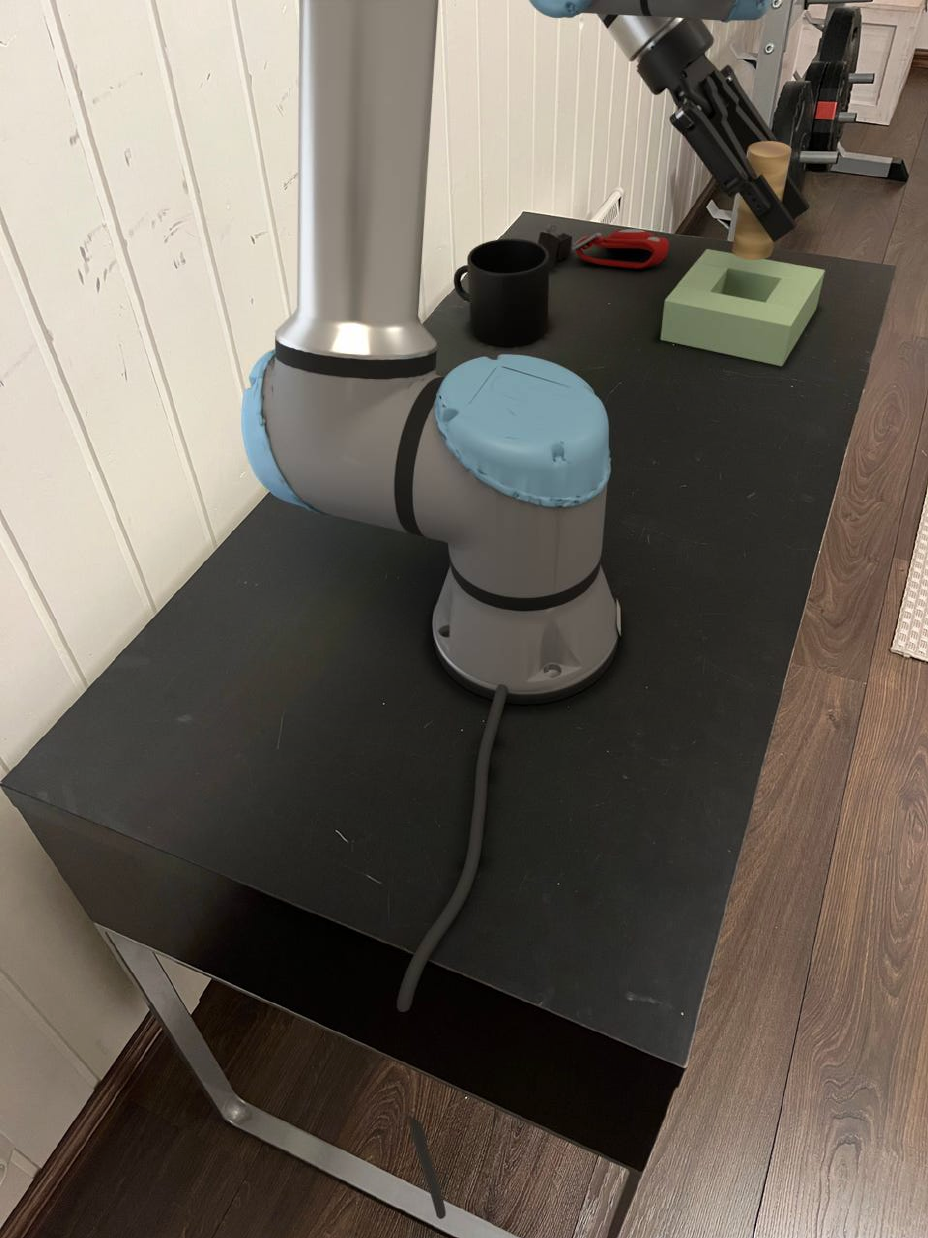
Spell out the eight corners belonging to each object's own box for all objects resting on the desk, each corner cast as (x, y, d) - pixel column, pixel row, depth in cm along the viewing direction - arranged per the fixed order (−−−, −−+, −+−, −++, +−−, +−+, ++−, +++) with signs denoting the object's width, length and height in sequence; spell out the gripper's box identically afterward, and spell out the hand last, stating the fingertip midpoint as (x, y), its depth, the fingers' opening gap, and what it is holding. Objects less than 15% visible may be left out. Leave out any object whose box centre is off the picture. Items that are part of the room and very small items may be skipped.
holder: (782, 366, 105) (790, 325, 102) (660, 339, 111) (664, 299, 107) (816, 309, 114) (825, 269, 110) (701, 287, 119) (706, 248, 116)
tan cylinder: (765, 262, 104) (784, 158, 96) (726, 255, 106) (742, 152, 98) (776, 246, 106) (796, 143, 99) (738, 239, 108) (755, 138, 100)
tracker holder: (629, 225, 130) (685, 229, 123) (627, 259, 132) (682, 265, 125) (564, 230, 124) (620, 235, 116) (563, 266, 126) (617, 272, 118)
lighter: (551, 272, 129) (561, 232, 127) (564, 275, 128) (575, 235, 126) (527, 261, 122) (538, 219, 120) (541, 264, 121) (552, 222, 120)
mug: (473, 300, 120) (470, 229, 113) (560, 317, 116) (562, 245, 109) (438, 334, 114) (432, 262, 108) (528, 354, 110) (528, 280, 103)
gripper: (658, 33, 88) (799, 236, 94) (719, -13, 98) (842, 173, 104) (603, 89, 94) (738, 277, 100) (666, 40, 104) (785, 213, 110)
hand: (791, 223), depth 102 cm, fingers closed on tan cylinder, 4 cm apart
